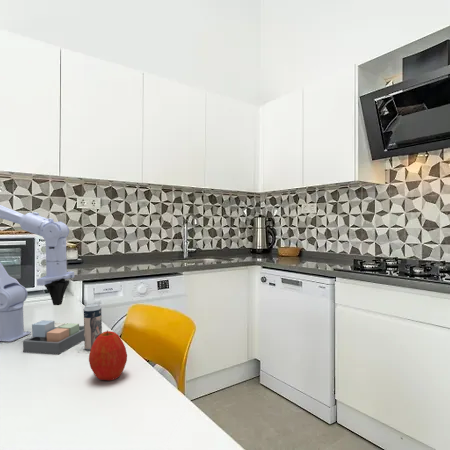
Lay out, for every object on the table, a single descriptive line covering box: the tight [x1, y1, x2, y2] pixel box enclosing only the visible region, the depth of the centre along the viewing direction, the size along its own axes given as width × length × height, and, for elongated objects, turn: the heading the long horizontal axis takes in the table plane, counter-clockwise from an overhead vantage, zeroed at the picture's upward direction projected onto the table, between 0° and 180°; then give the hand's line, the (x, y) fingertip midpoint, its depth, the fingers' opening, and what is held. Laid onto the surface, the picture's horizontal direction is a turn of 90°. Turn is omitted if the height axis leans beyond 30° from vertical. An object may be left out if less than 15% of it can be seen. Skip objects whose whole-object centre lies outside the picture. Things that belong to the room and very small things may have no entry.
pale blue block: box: [31, 320, 56, 337], centre depth 99 cm, size 4×4×3 cm
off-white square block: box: [55, 322, 66, 329], centre depth 103 cm, size 4×4×3 cm
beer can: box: [83, 303, 103, 351], centre depth 98 cm, size 5×5×12 cm
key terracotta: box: [47, 328, 69, 342], centre depth 98 cm, size 4×4×3 cm
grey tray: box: [22, 325, 84, 355], centre depth 102 cm, size 11×15×3 cm
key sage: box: [58, 322, 80, 336], centre depth 103 cm, size 4×4×3 cm
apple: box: [88, 330, 128, 381], centre depth 79 cm, size 8×8×11 cm
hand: (57, 304), depth 108 cm, fingers closed
